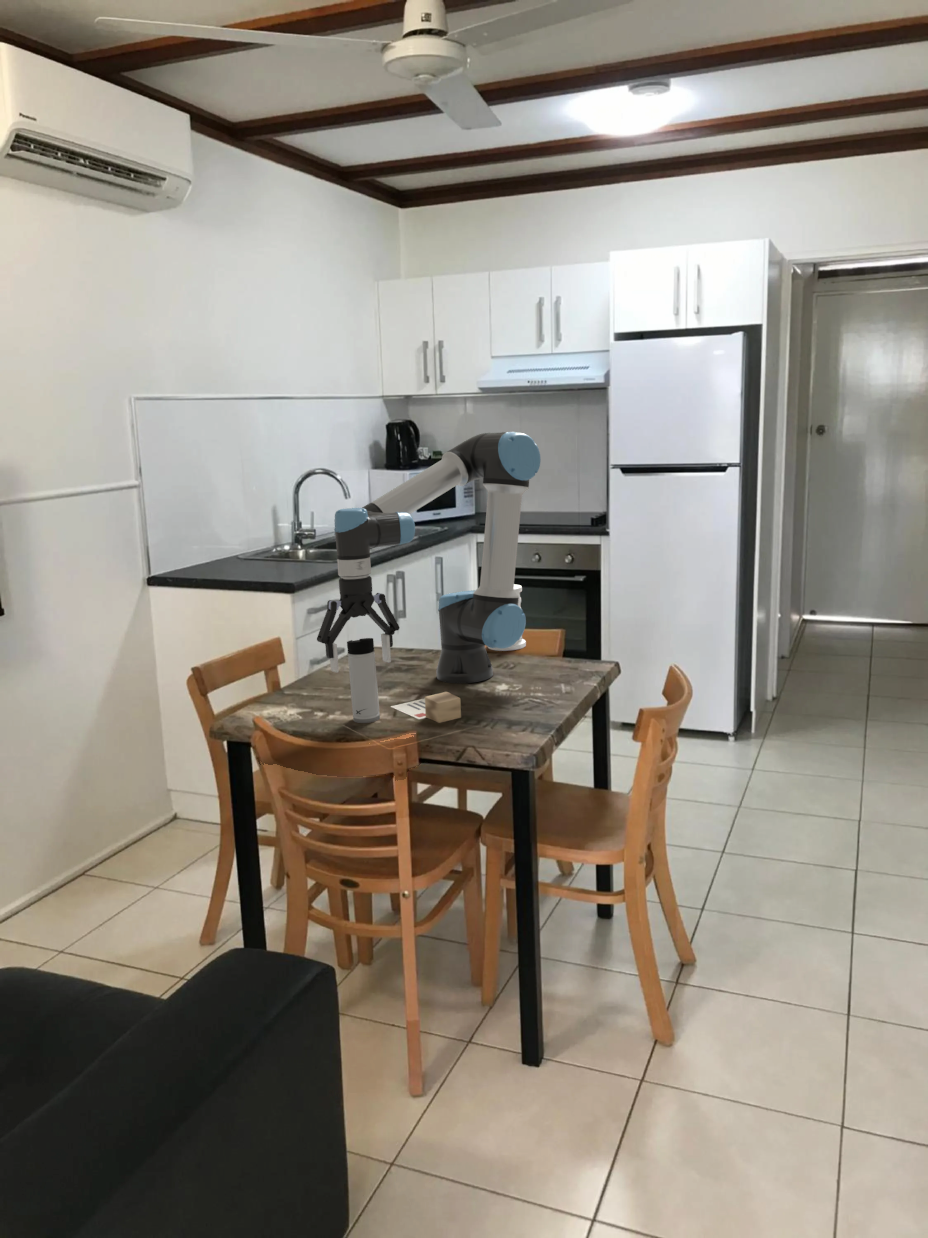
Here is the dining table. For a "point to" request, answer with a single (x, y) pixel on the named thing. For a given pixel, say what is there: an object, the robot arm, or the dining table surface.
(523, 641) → the decorative container
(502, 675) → the dining table surface
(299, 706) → the dining table surface
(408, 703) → the letter
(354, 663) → the travel mug
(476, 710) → the dining table surface
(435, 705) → the oak block
